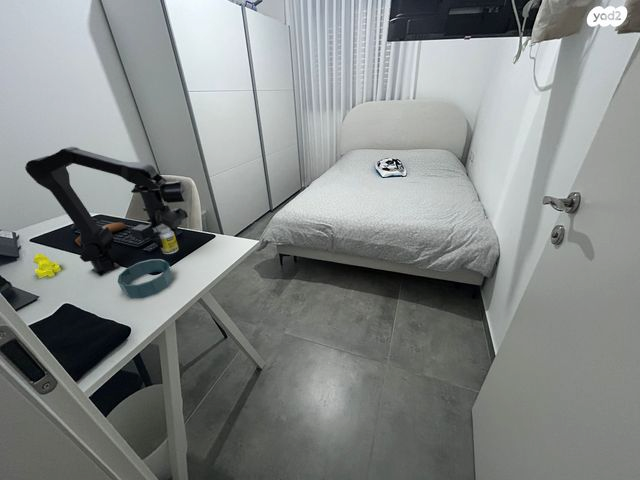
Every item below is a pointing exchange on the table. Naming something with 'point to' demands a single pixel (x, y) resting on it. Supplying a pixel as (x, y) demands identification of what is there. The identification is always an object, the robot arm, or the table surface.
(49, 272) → the crumpled paper
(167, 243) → the supplement bottle
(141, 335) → the table surface
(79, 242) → the sunglasses case
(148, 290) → the teal ring-shaped band
